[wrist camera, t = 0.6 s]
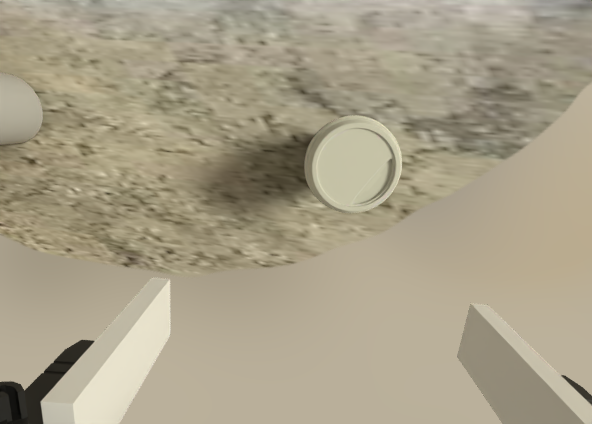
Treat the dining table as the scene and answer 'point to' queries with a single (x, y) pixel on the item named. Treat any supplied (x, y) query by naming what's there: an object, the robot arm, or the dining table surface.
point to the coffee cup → (353, 164)
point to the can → (18, 110)
